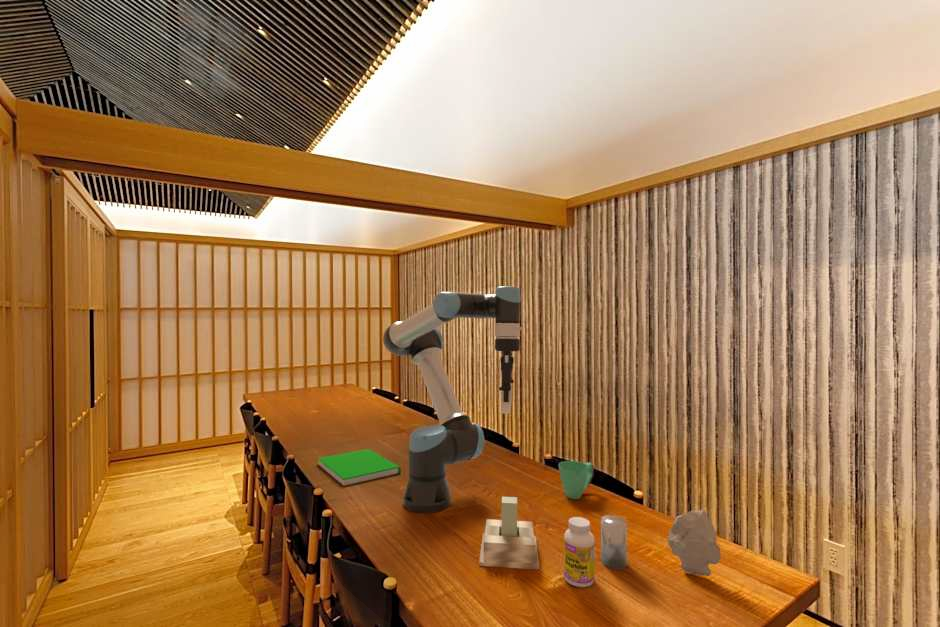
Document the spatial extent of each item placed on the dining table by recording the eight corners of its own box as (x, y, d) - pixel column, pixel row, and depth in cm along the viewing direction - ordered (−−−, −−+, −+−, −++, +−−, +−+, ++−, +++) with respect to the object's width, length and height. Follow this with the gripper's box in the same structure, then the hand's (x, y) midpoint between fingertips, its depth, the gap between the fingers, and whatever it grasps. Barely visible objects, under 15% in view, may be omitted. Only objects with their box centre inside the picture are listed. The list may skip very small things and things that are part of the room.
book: (343, 487, 147) (343, 478, 147) (317, 465, 170) (317, 458, 170) (400, 474, 161) (400, 466, 161) (369, 455, 183) (369, 448, 183)
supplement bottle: (559, 582, 94) (559, 523, 94) (569, 567, 99) (569, 512, 100) (589, 592, 90) (589, 531, 90) (597, 577, 96) (598, 519, 96)
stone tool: (665, 569, 99) (665, 504, 99) (669, 562, 102) (669, 499, 102) (719, 588, 92) (719, 518, 92) (722, 580, 95) (721, 512, 95)
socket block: (479, 565, 100) (479, 544, 100) (482, 536, 114) (483, 517, 114) (539, 569, 98) (539, 547, 98) (535, 539, 112) (535, 520, 112)
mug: (575, 504, 134) (575, 472, 134) (552, 494, 142) (552, 464, 142) (603, 494, 143) (604, 464, 143) (580, 485, 151) (580, 456, 151)
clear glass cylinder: (603, 568, 99) (604, 525, 99) (598, 555, 105) (598, 514, 105) (629, 570, 98) (629, 526, 99) (622, 556, 104) (623, 515, 104)
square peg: (501, 552, 104) (501, 502, 105) (501, 544, 108) (502, 496, 108) (516, 552, 104) (517, 503, 104) (516, 545, 108) (517, 497, 108)
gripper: (520, 339, 115) (519, 418, 114) (519, 336, 140) (519, 401, 139) (492, 339, 116) (491, 417, 115) (497, 336, 141) (496, 400, 140)
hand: (506, 408), depth 127 cm, fingers open, 13 cm apart
